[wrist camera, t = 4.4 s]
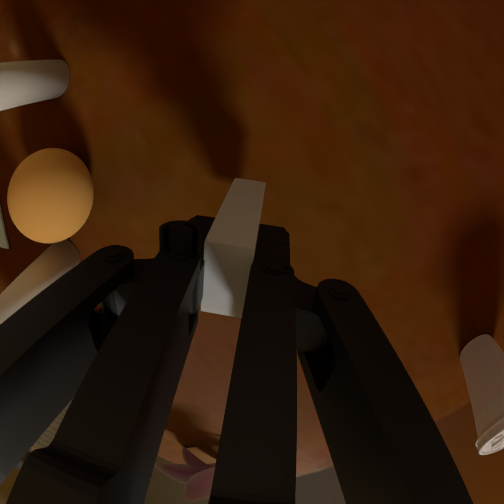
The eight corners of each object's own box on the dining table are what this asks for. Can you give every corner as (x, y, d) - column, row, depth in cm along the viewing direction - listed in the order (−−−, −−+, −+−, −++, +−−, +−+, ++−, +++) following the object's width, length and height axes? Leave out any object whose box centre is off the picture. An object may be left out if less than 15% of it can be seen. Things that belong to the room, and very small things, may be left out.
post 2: (77, 241, 20) (-1, 323, 12) (82, 271, 21) (15, 356, 13) (50, 236, 20) (-27, 310, 12) (57, 265, 21) (-11, 342, 13)
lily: (155, 414, 32) (135, 481, 27) (227, 442, 25) (202, 525, 20) (220, 431, 40) (203, 488, 35) (289, 450, 33) (270, 516, 28)
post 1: (71, 56, 13) (-48, 66, 6) (68, 97, 15) (-48, 128, 7) (42, 62, 13) (-71, 79, 6) (39, 100, 15) (-71, 133, 7)
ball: (53, 138, 17) (111, 142, 16) (58, 214, 19) (114, 230, 18) (-13, 159, 12) (36, 164, 11) (1, 246, 14) (52, 271, 13)
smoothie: (504, 349, 22) (554, 463, 10) (451, 380, 24) (488, 502, 12) (501, 310, 20) (571, 443, 7) (441, 347, 22) (490, 495, 10)
